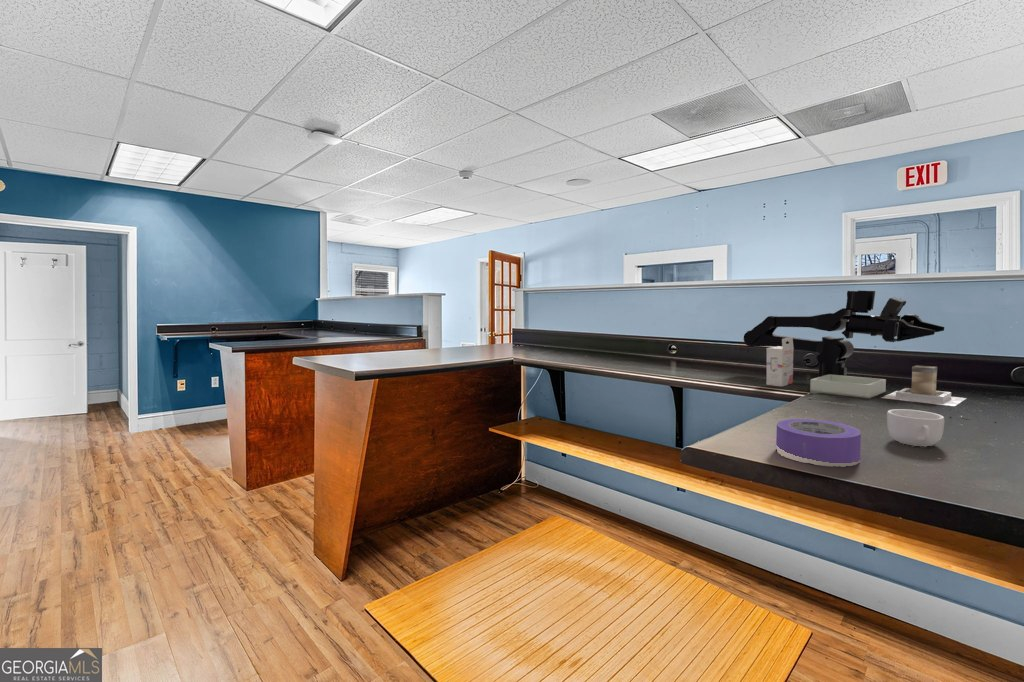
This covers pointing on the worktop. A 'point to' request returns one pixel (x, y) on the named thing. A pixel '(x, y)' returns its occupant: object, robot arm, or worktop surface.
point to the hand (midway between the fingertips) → (939, 330)
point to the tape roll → (819, 440)
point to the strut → (924, 380)
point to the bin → (848, 386)
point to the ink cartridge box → (780, 364)
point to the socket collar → (925, 397)
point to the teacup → (915, 427)
